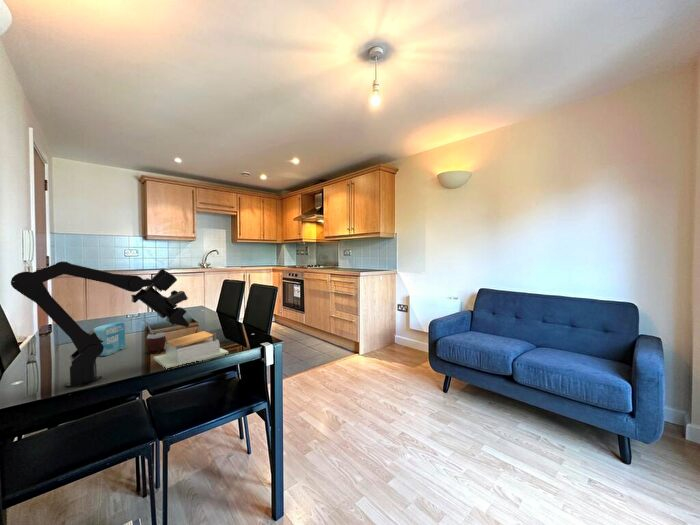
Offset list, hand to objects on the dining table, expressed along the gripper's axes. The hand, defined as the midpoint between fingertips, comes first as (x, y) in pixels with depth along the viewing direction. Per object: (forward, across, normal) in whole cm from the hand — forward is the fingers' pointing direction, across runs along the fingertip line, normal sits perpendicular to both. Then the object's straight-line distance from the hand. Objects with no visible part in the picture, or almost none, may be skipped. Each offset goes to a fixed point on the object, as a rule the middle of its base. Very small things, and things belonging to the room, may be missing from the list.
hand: (188, 325), depth 116 cm
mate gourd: (+4, +18, +15) cm, 24 cm away
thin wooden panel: (+5, 0, +3) cm, 6 cm away
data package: (-5, +34, +25) cm, 42 cm away
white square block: (+9, 0, +7) cm, 11 cm away
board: (+10, 0, +8) cm, 12 cm away
